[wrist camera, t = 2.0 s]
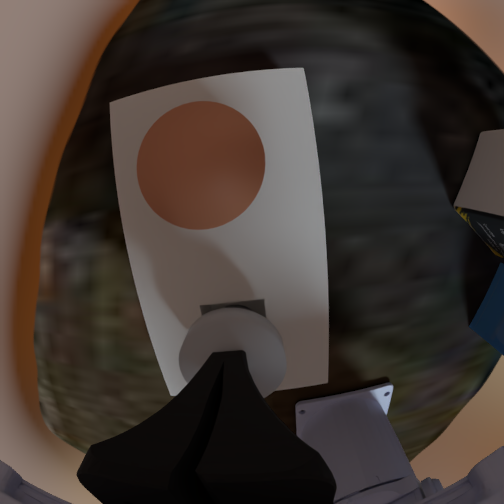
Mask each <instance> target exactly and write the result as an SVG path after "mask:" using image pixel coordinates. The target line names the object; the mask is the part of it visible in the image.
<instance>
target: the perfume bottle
mask: <svg viewBox="0 0 504 504" xmlns="http://www.w3.org/2000/svg"><path fill="white" fill-rule="evenodd" d="M469 327H470V328H471V329H472V330H474V331H475V332H476V333H477V334H478V335H480V336H481V337H482V338H483V339H485V340H486V341H487V342H488V343H489V344H491V345H492V346H493V347H494V348H495V349H497V350H498V351H499V352H500V353H501V354H502V355H504V264H503V263H501V262H500V265H499V267H498V270H497V272H496V274H495V276H494V279H493V281H492V283H491V285H490V287H489V289H488V291H487V294H486V296H485V298H484V300H483V301H482V303H481V305H480V307H479V309H478V311H477V313H476V315H475V316H474V318H473V320H472V322H471V324H470V325H469Z"/></svg>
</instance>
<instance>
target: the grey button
mask: <svg viewBox="0 0 504 504" xmlns="http://www.w3.org/2000/svg"><path fill="white" fill-rule="evenodd" d="M236 350H243V351H245V352H246V356H247V362H248V368H249V371H250V374H251V376H252V378H253V381H254V383H255V385H256V386H257V388H258V390H259V392H260V393H261V395H262V397H263V398H265V397H267V396H268V395H270V394H271V393H272V392H274V391H275V390H276V389H277V388H278V387H279V385H280V384H281V382H282V381H283V379H284V376H285V373H286V368H287V362H286V356H285V350H284V345H283V340H282V337H281V335H280V333H279V331H278V330H277V328H276V327H275V326H274V325H273V324H272V323H271V322H270V321H269V320H268V319H266V318H265V317H263V316H262V315H260V314H258V313H256V312H253V311H252V310H251V309H250V308H248V307H246V306H243V305H229V306H226V307H224V308H221V309H217V310H213V311H210V312H208V313H206V314H204V315H202V316H201V317H199V318H198V319H197V320H196V321H195V322H194V323H193V324H192V325H191V327H190V328H189V330H188V332H187V334H186V337H185V339H184V341H183V344H182V346H181V349H180V352H179V367H180V371H181V373H182V376H183V377H184V379H185V381H186V382H187V383H189V382H190V380H191V379H192V378H193V377H194V376H195V374H196V373H197V372H198V371H199V369H200V368H201V367H202V365H203V364H204V363H205V361H206V360H207V359H208V357H209V356H210V355H211V354H212V353H213V352H224V351H236Z"/></svg>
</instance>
